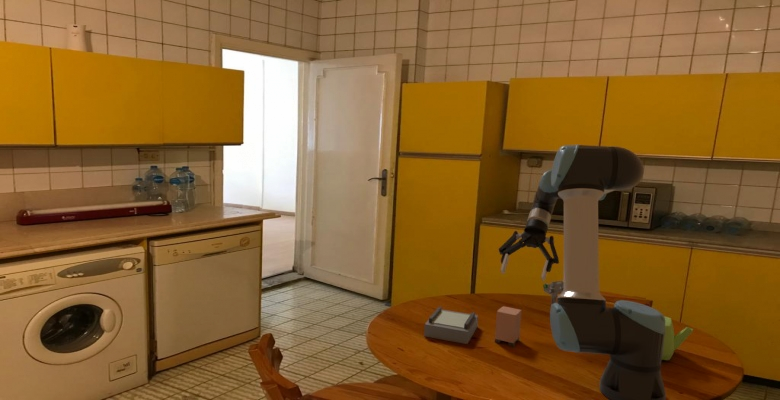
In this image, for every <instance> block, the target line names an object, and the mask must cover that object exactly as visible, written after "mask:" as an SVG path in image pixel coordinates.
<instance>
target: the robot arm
mask: <svg viewBox="0 0 780 400" xmlns="http://www.w3.org/2000/svg"><path fill="white" fill-rule="evenodd" d="M643 164H644V163H643V162H642V160H641V159H640V157H639V156H638V155H637V154H636V153H635V152H633V151H631V150H630V149H628V148H625V147H621V146H607V145H606V146H604V145H587V144H586V145H585V144H584V145H583V144H578V143H577V144H571V145H570V144H568V145H567V144H566V145H563V146H561V147H559V148H558V150H557V151H556V154H555V157H554V159H553V163H552V168H551V170H550V169H549V170H547V171H545V172H544V173H543V174H542V176H541V177H540V179H539V182H538V186H537V189H536V191H535V194H534V197H533V202H532V205H531V208H530V210H529V214H528V217H527V219H526V224H525V227H524V230H523V232H522V233H520V232H518V231H517V230H515V231H514V232H513V233H512V235H511V236H510V237H509V238H508V239H507V240H506V241H505V242H504V243H503V244H502V245H501V246H500V247H499V248H498V252H499V255H501V258H500V262H501V266H500V272H501V274H505V272H506V269H507V266H508V264H509V261H510V255H512V254H513V253H515V252H517V251H518V250H520V249H523V248H524V247H527V248H534V249H536V248H538V249H539V250H540V251H541V253H542V255H543V256H544V257H545V262H544V266H543V269H542V272H541V276H540V277H541V280H542V281H543V282H545V281H546V278H547V274H548V273H550V272H551V270H552V266H553V265H554V264H557V265H558V264H559V263H560V260H559V257H558V254H557V253H558V252H557V249H556V247H555V239H554V235H550V236H548V237H546V236H547V234H548V233H547V232H548V231H549V226H550V222H551V220H552V214H553V212H554V210H555V209H554V208H555V205H556V204H557V201H558V199H561V200H562V201H563V282H564V290H563V292H562V293H559V294H558V295H557V297H556V303H554V304H552V305H551V306H550V309H549V311H550V313H549V321H550V329H551V333H552V334H551V335H552V338H553V340H554V343H555V345H556V346H557V347H558V349H560V350H561V351H565V352H572V353H576V354H579V353H583V354H595V355H597V354H599V355H609V360H608V362H607V364H606V367H605V369H604V370H603V373H602V374H601V377H600V378H599V379H600V380H599V391H600V392H601V393H602V395H604V397H606V398H607V399H608V400H666V396H667V395H666V394H667V393H666V389H665V384H664V381H663V376H662V373H661V372H662V371H661V368H662V361H663V360H662V353H663V345H664V336H665V333H666V332H665V318H664V314H663V313H662V312H660V311H659V310H657V309H656V308H653V307H651V306H649V305H646V304H643V303H639V302H636V301H631V300H622V299H621V300H617V301H615V303H614V305H613V307H610V306H607V305H606V304H607V303H606V302H607V300H606V298H605V297H604V296H603V295H602V294H601V292H600V266H599V264H600V263H599V259H600V258H599V254H600V253H599V251H600V249H599V201H602V200H605V198H606V196H607V194H609V193H612V192H614V191H621V192H622V191H623V192H624V191H628V190H630V189H632V188H634V187H636V186H638V185H639V183H640V182H641V181H642V179H643V177H644V165H643ZM517 240H518V241H517ZM546 242H547V244H548V245H549V246H550V251H551V253H552V255H551V254H550V253H549V252H548V250H547V248H546V247H545V245H544V244H545V243H546Z"/></svg>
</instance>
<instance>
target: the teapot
mask: <svg viewBox="0 0 780 400" xmlns="http://www.w3.org/2000/svg"><path fill="white" fill-rule="evenodd" d="M663 316H664V315H663ZM664 318H665V332H666V333H665V336H664V345H663V353H662V361H670V360H671V359H672V358H673V355H674V352H675V350H677V349H678V348H679V347H680V346H681V345H682V344H683V342H685V340H686V339H687V338H688V337H689V336H690V335H691V334H692V333H693V332H694V331H693V330H694V329H693V328H691V327H687V326H686V327H685V328H683V329H682V330H681V331H679V332H678V333H676V335H675V329H674V324H673V320H672V318H671V317H668V316H664Z"/></svg>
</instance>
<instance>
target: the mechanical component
mask: <svg viewBox="0 0 780 400" xmlns="http://www.w3.org/2000/svg"><path fill="white" fill-rule="evenodd" d="M542 286H543V292H544V293H547V294H549V295H550V297H551V305H552V304H554V303H557V296H558V295H559V294H561V293H562V292H563V290H564V280H558V281H557V280H556V281H551V283H550V284H549V283H547V282H546V283H544V284H543V285H542Z"/></svg>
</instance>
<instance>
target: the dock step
mask: <svg viewBox="0 0 780 400" xmlns="http://www.w3.org/2000/svg"><path fill="white" fill-rule="evenodd" d="M442 308H443V307H441V306H438V307H437V308H436V309H435V311H434V312H433V313H432V314H430V316H429V318H428V319H427V321H426V322H425V324H424V332H423V337H425V338H431V339H438V340H443V341H447V342H455V343H459V344H465V345H468V344H469V343H470V341H471V339H472V338H473V335H474V334H475V332H476V330H477V328H478V323H479V322H478V321H479V320H478V319H479V315H478V314H476V313H475V312H474V311H473V312H471V313H465V312H459V311H453V310H446V309H442Z"/></svg>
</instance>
